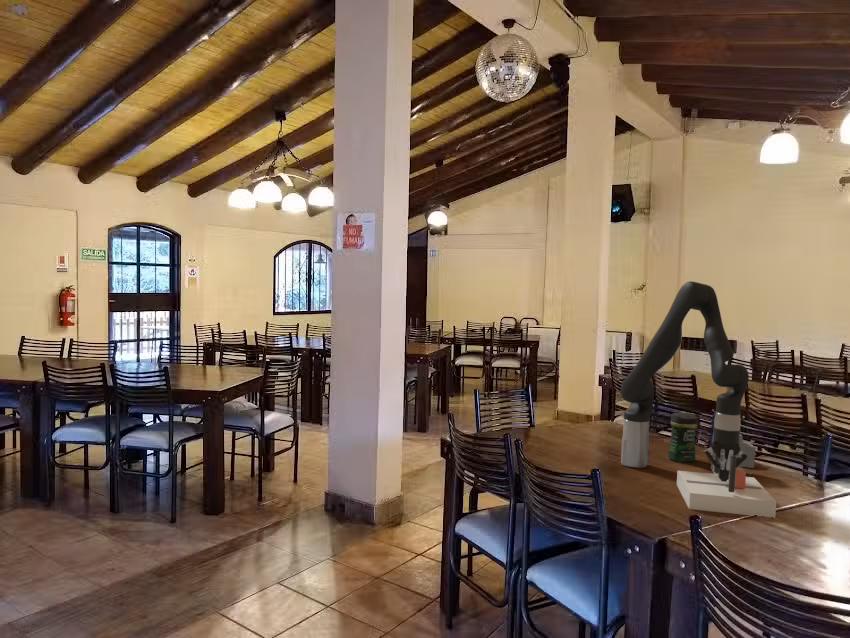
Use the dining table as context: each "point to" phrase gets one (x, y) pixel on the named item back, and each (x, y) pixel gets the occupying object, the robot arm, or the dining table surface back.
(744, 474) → the block
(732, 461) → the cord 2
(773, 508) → the board
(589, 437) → the dining table surface
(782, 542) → the dining table surface
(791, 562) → the dining table surface
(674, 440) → the coffee jar
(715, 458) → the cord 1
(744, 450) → the circuit breaker
